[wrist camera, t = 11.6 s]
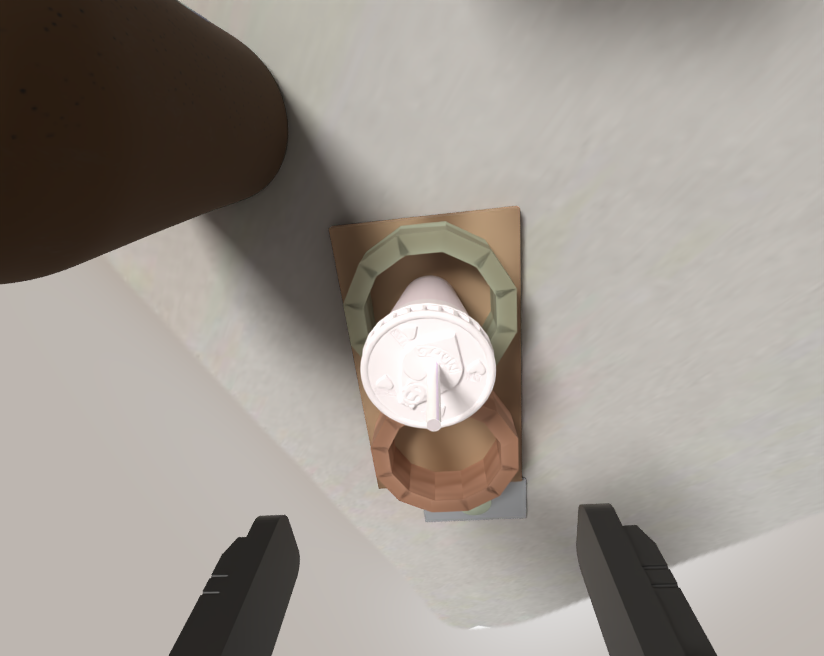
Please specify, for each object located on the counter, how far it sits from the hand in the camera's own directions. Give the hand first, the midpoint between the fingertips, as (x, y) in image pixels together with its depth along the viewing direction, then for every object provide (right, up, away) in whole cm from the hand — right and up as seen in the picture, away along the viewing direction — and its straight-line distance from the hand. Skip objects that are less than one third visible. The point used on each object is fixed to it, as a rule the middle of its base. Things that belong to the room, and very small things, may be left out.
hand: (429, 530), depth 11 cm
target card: (+5, -10, +25) cm, 27 cm away
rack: (+1, +3, +19) cm, 20 cm away
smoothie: (+1, +7, +17) cm, 18 cm away
